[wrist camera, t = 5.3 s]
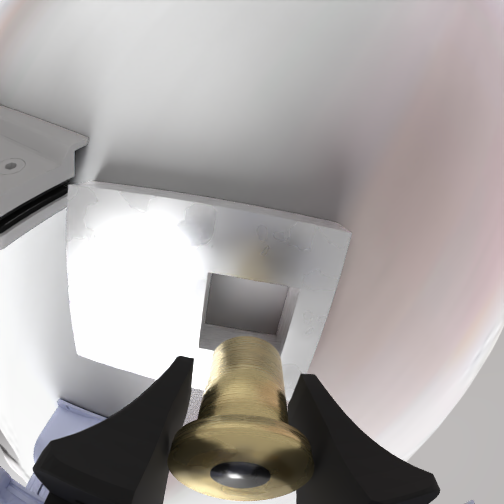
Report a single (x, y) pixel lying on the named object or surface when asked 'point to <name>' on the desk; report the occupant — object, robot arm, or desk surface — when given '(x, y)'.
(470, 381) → the desk surface
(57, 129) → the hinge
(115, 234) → the jig
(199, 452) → the bushing
